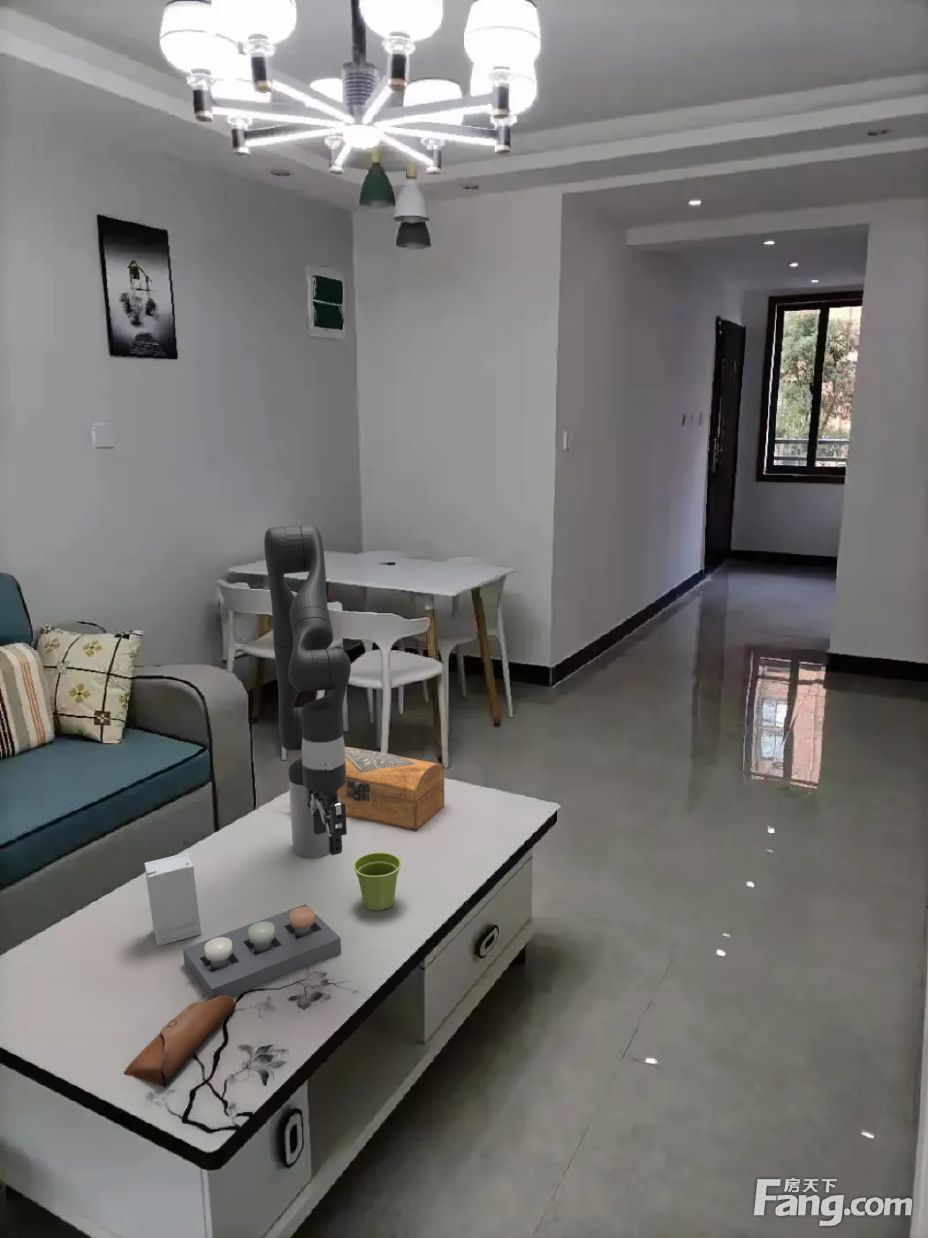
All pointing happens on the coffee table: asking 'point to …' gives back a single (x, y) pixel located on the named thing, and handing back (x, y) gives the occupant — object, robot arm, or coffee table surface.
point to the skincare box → (173, 898)
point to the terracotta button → (302, 921)
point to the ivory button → (218, 952)
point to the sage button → (261, 936)
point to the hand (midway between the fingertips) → (327, 843)
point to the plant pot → (377, 879)
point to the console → (261, 956)
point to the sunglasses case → (180, 1040)
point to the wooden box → (391, 789)
